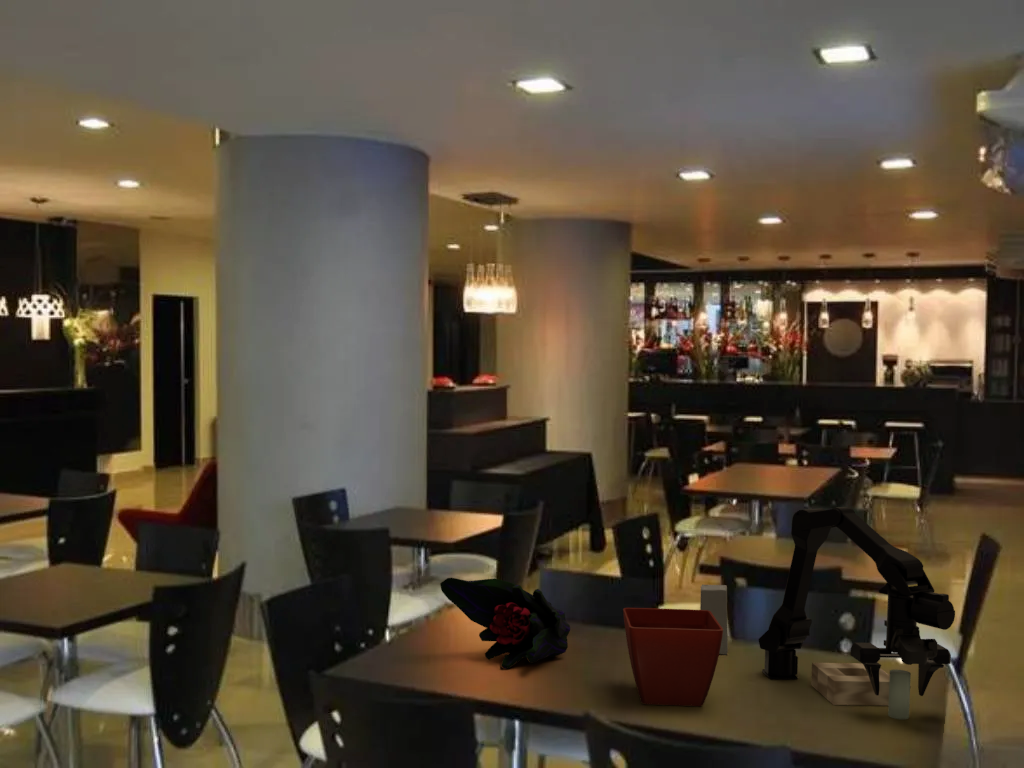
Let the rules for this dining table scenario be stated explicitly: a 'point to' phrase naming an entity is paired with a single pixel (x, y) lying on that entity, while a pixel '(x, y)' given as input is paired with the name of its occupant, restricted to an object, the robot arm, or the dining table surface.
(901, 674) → the sage peg
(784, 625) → the robot arm
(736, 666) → the dining table surface
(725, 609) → the skincare box
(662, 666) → the plant pot
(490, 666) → the dining table surface
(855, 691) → the socket block
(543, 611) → the decorative plant
